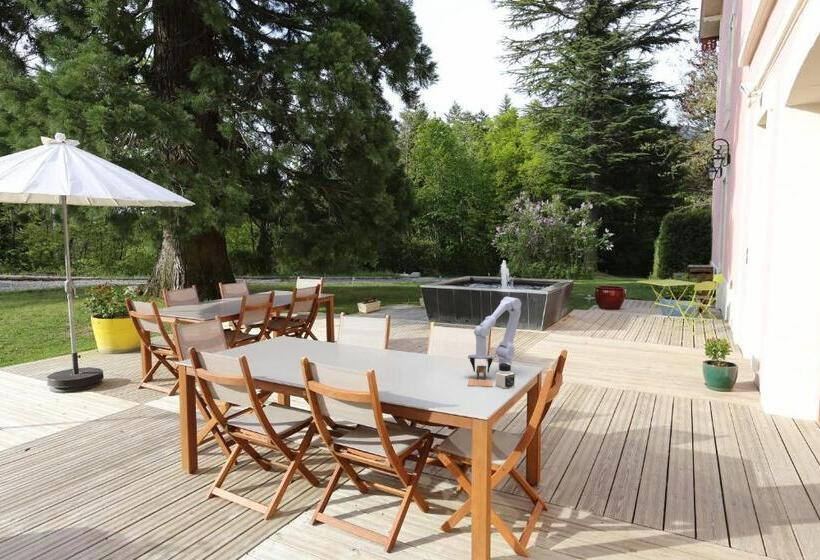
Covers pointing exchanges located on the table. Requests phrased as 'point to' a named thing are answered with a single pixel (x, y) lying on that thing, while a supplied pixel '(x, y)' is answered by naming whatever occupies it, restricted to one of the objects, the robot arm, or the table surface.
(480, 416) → the table surface
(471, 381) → the terracotta tile
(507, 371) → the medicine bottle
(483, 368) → the brown slotted block
